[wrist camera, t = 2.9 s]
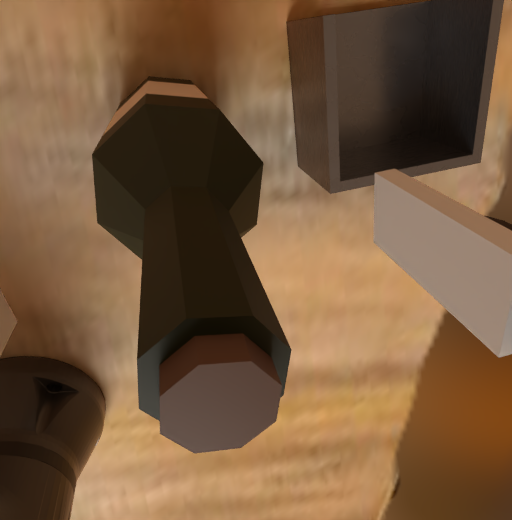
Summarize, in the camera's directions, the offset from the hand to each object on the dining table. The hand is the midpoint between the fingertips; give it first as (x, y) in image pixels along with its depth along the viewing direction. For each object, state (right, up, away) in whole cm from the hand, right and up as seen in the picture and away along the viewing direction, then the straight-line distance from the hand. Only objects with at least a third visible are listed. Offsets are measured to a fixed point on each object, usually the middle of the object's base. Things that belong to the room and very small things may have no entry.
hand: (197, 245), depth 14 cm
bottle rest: (+11, +15, +21) cm, 28 cm away
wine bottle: (-5, +10, +20) cm, 23 cm away
